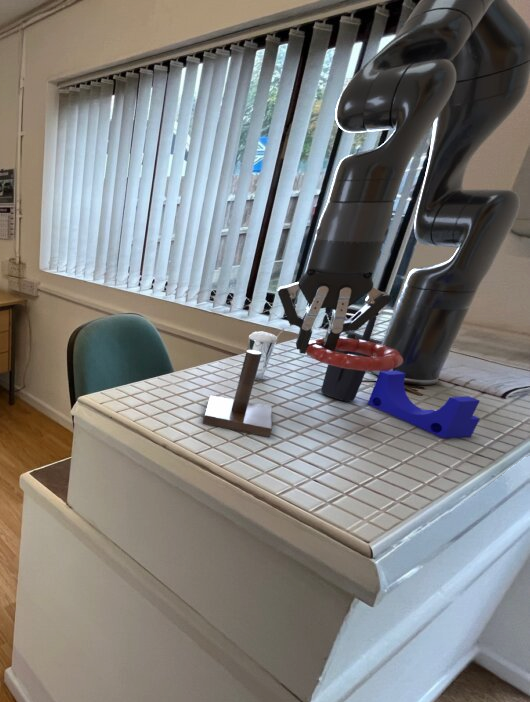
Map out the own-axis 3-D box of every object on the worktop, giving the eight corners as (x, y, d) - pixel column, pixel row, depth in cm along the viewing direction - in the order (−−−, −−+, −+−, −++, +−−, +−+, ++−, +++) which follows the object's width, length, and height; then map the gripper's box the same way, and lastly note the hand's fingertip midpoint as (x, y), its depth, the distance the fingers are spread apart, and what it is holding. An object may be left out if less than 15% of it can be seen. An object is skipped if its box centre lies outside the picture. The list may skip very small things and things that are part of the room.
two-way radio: (359, 401, 79) (392, 317, 73) (339, 405, 78) (370, 319, 72) (328, 389, 84) (355, 309, 78) (309, 392, 83) (335, 311, 77)
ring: (302, 344, 76) (305, 332, 75) (390, 354, 70) (395, 341, 69) (306, 364, 67) (310, 352, 67) (406, 378, 62) (412, 364, 61)
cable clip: (470, 436, 68) (489, 399, 65) (443, 438, 67) (460, 401, 65) (391, 402, 79) (405, 369, 76) (367, 403, 78) (380, 371, 76)
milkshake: (275, 382, 88) (289, 331, 84) (244, 380, 89) (257, 330, 85) (264, 373, 92) (278, 325, 88) (235, 372, 93) (247, 324, 89)
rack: (208, 402, 80) (222, 340, 76) (269, 414, 76) (289, 348, 71) (202, 423, 73) (218, 355, 69) (269, 437, 69) (291, 366, 64)
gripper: (409, 234, 63) (366, 353, 70) (288, 232, 70) (260, 340, 77) (423, 240, 58) (375, 368, 65) (289, 237, 64) (259, 354, 72)
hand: (312, 353), depth 71 cm, fingers closed on ring, 2 cm apart
